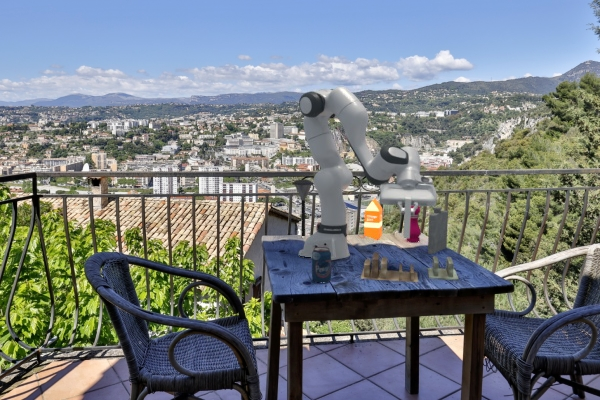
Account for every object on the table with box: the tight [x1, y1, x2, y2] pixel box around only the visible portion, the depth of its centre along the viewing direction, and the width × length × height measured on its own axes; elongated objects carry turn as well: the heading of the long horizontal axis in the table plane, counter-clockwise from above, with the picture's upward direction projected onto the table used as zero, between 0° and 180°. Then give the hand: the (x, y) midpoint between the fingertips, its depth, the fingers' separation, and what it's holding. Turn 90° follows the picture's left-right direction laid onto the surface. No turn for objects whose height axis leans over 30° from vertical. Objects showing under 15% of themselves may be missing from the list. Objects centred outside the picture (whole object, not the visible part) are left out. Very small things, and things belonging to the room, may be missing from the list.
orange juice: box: [363, 198, 383, 240], centre depth 236 cm, size 8×9×20 cm
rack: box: [360, 252, 419, 283], centre depth 167 cm, size 20×12×8 cm, turn 78°
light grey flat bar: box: [403, 197, 411, 239], centre depth 163 cm, size 2×5×14 cm, turn 168°
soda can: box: [311, 247, 332, 284], centre depth 165 cm, size 7×7×12 cm
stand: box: [426, 256, 459, 281], centre depth 168 cm, size 10×12×7 cm
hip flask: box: [427, 206, 449, 255], centre depth 208 cm, size 16×4×20 cm, turn 140°
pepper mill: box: [406, 206, 422, 243], centre depth 227 cm, size 7×7×20 cm
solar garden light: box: [291, 179, 314, 237], centre depth 233 cm, size 12×12×30 cm
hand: (407, 213), depth 163 cm, fingers closed on light grey flat bar, 2 cm apart
